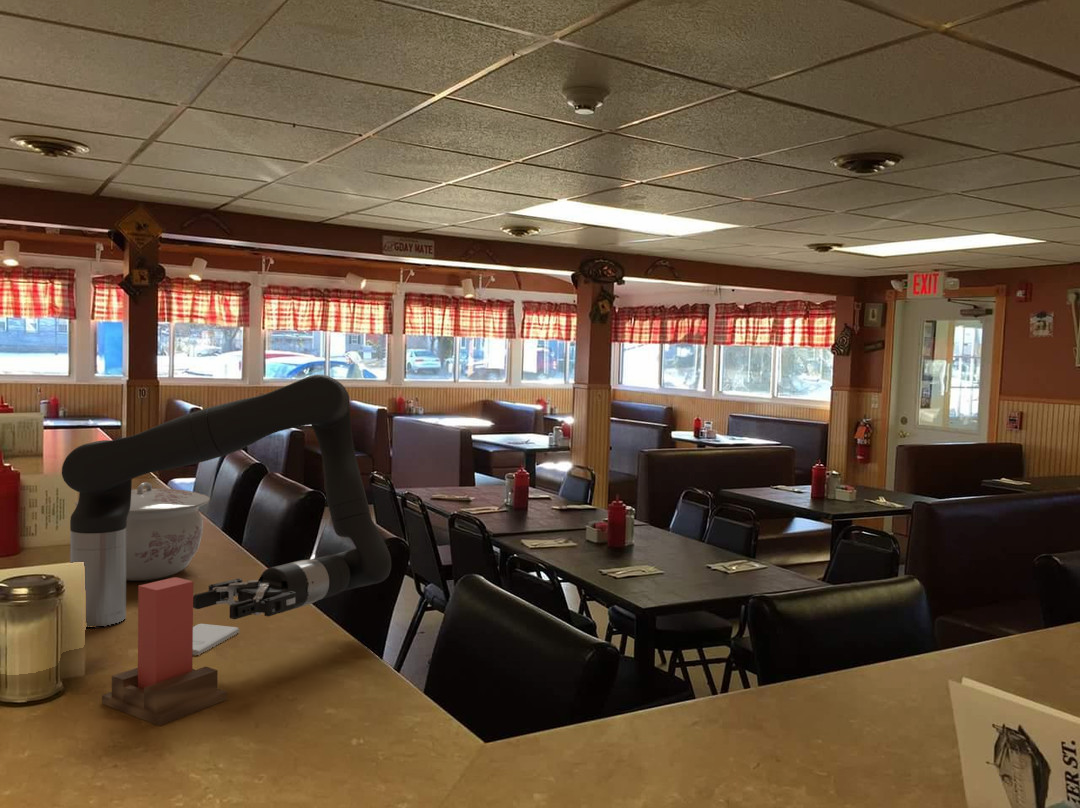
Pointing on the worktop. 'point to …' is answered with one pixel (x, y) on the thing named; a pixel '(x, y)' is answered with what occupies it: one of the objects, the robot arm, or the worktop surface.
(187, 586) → the salmon rectangular prism
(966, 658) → the worktop surface
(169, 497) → the chamber pot
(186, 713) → the rack
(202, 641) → the external hard drive
